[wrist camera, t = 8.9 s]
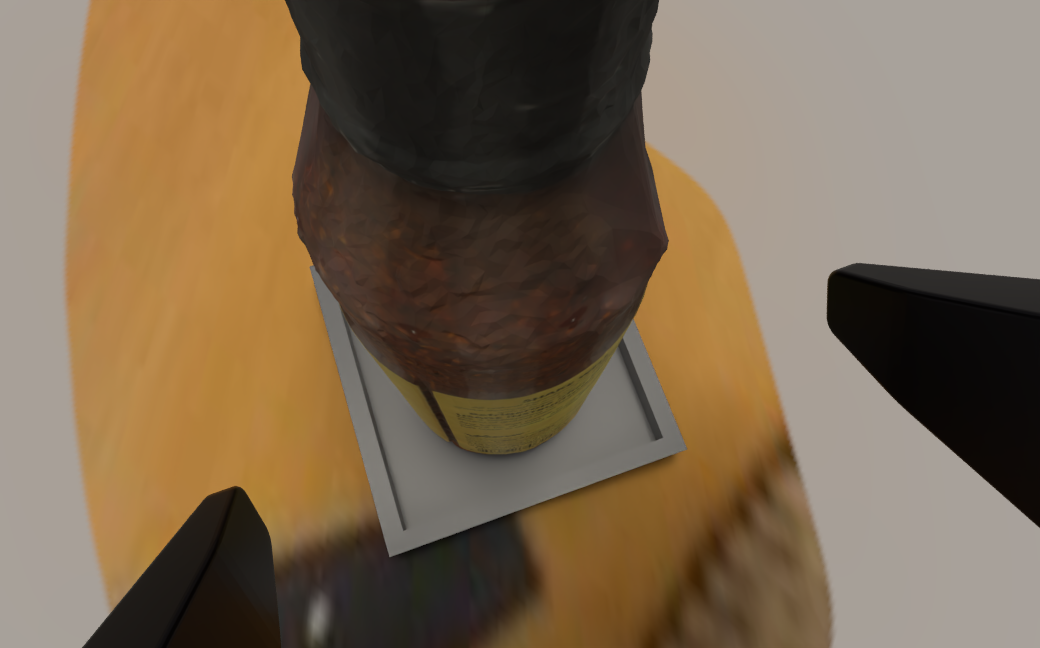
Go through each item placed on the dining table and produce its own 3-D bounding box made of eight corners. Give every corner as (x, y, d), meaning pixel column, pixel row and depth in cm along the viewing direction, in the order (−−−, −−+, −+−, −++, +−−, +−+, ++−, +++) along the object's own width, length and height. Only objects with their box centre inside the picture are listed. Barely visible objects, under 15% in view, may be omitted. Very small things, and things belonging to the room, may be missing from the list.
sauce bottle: (612, 330, 23) (1238, -586, 4) (538, 493, 21) (1038, 251, 2) (449, 254, 23) (305, -885, 4) (363, 406, 22) (-494, -412, 3)
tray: (674, 453, 22) (687, 449, 21) (396, 554, 21) (389, 557, 19) (573, 206, 25) (579, 188, 23) (320, 282, 23) (309, 266, 22)
